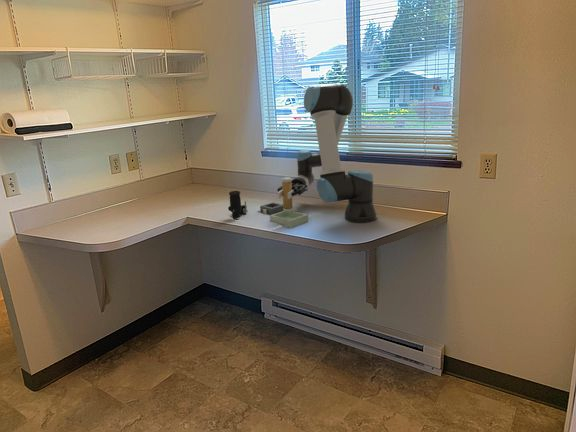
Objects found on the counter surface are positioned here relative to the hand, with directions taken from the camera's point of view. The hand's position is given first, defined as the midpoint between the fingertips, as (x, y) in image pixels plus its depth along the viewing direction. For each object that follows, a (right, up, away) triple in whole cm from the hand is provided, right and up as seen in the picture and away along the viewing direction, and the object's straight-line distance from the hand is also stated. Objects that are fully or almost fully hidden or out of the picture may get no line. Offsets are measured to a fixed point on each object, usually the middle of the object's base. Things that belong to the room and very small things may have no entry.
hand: (283, 195), depth 206 cm
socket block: (-6, -8, +25) cm, 27 cm away
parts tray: (+3, -12, +8) cm, 15 cm away
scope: (-23, -11, +19) cm, 32 cm away
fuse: (+2, -7, +7) cm, 10 cm away
